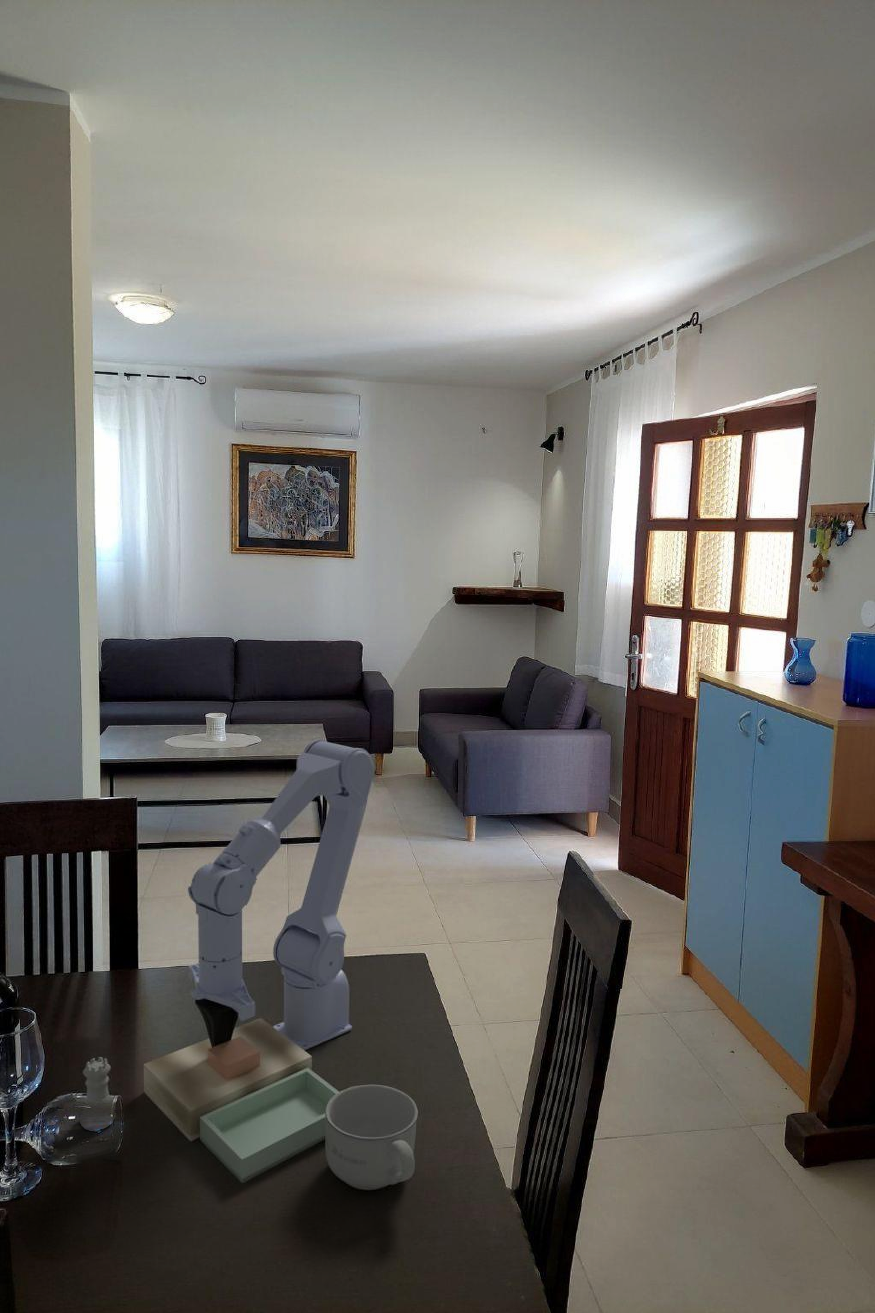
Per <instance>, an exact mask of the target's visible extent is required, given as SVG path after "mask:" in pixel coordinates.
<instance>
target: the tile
mask: <svg viewBox="0 0 875 1313" xmlns="http://www.w3.org/2000/svg"><path fill="white" fill-rule="evenodd" d="M208 1064H209V1065H210V1066H211V1067H212V1068H213V1069H214V1070H215V1071H217V1072H218V1073H219V1074H220V1075H221V1076H222V1077H223V1078H224V1079H226V1080H229V1079H231V1078H233V1077H235V1076H238V1075H240V1074H242V1073H245V1072H247V1071H249V1070H251V1069H254V1068H256V1067H258V1066H260V1051H259V1050H257V1049H256V1048H255V1047H254V1046H252V1045H251V1044H250V1043H249V1042H247V1041H246V1040H245V1039H244V1038H242V1037H241V1036H240V1037H237V1038H235V1039H232V1040H230V1041H227V1042H225V1043H222V1044H220V1045H217V1046H215V1047H212V1048H210V1049H208Z"/></svg>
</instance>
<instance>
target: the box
mask: <svg viewBox="0 0 875 1313" xmlns="http://www.w3.org/2000/svg"><path fill="white" fill-rule="evenodd" d="M339 1092H340V1091H339V1090H338V1089H336V1088H335V1087H334V1086H332V1085H331V1084H330V1083H329V1082H328V1081H326V1080H325V1079H323V1078H322V1077H321V1076H319V1075H318V1074H317V1073H315V1072H314V1071H313V1069H312V1070H310V1069H309V1068H306V1069H304V1070H302V1071H299V1072H297V1073H295V1074H293V1075H291V1076H289V1077H286V1078H284V1079H282V1080H280V1081H278V1082H275V1083H273V1084H271V1085H269V1086H267V1087H265V1088H262V1089H260V1090H258V1091H256V1092H254V1093H251V1094H249V1095H247V1096H245V1097H243V1098H241V1099H238V1100H236V1101H234V1102H232V1103H230V1104H228V1105H225V1106H223V1107H221V1108H219V1109H217V1110H214V1111H212V1112H210V1113H208V1114H206V1115H204V1116H201V1117H200V1137H199V1140H200V1141H201V1142H202V1143H203V1145H204V1146H205V1147H206V1148H207V1149H208V1150H209V1151H210V1152H211V1153H212V1154H213V1155H214V1156H215V1157H216V1158H217V1159H218V1161H220V1162H221V1163H222V1165H224V1167H226V1168H227V1170H228V1171H229V1172H230V1173H231V1174H233V1176H234V1177H236V1179H237V1180H238V1181H239V1182H240V1183H241V1184H244V1183H246V1182H247V1181H249V1180H251V1179H253V1178H255V1177H257V1176H259V1175H261V1174H263V1173H265V1172H267V1171H268V1170H270V1169H272V1168H274V1167H276V1166H278V1165H280V1164H282V1163H283V1162H284V1161H288V1160H289V1159H291V1158H292V1157H294V1156H295V1157H296V1156H297V1155H298V1154H300V1153H302V1152H305V1151H306V1150H308V1149H310V1148H311V1147H313V1146H315V1145H317V1144H318V1143H321V1142H322V1141H325V1131H326V1116H325V1110H326V1106H327V1104H328V1102H329V1101H330V1099H331V1098H332V1097H333V1096H334V1095H336V1094H337V1093H339Z"/></svg>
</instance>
